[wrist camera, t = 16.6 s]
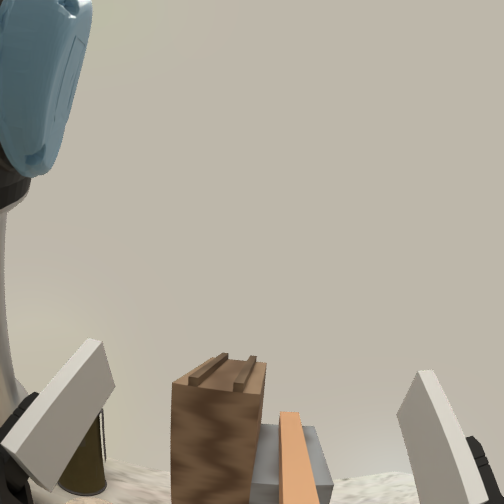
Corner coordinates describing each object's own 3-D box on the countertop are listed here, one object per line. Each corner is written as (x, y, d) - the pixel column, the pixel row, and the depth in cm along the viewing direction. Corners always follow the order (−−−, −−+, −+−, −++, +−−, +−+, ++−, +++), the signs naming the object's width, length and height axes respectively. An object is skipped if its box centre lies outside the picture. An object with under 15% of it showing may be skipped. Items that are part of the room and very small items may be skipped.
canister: (51, 489, 31) (37, 395, 35) (62, 464, 40) (54, 380, 44) (106, 500, 34) (97, 407, 38) (110, 473, 44) (106, 390, 48)
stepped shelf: (175, 562, 22) (172, 373, 28) (204, 499, 42) (212, 351, 48) (306, 575, 21) (351, 388, 27) (299, 507, 40) (322, 359, 46)
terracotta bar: (278, 549, 14) (283, 526, 15) (278, 427, 43) (280, 411, 44) (317, 549, 14) (324, 526, 14) (296, 428, 43) (298, 412, 44)
